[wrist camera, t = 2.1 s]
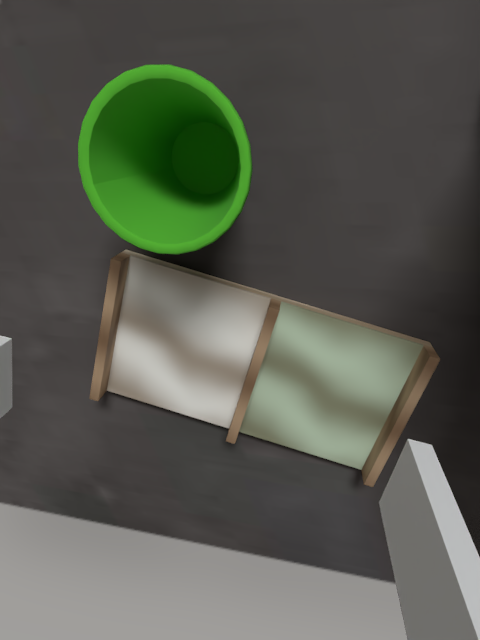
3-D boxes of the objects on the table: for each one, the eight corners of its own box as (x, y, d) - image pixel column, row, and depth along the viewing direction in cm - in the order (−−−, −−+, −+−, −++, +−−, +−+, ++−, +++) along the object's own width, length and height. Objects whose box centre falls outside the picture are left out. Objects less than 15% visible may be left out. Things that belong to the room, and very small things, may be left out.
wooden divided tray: (125, 249, 35) (110, 258, 33) (429, 342, 35) (440, 359, 32) (104, 381, 41) (89, 398, 38) (368, 463, 40) (372, 487, 37)
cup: (279, 207, 32) (268, 236, 22) (166, 232, 34) (109, 269, 24) (253, 73, 29) (227, 38, 19) (130, 109, 31) (49, 93, 21)
